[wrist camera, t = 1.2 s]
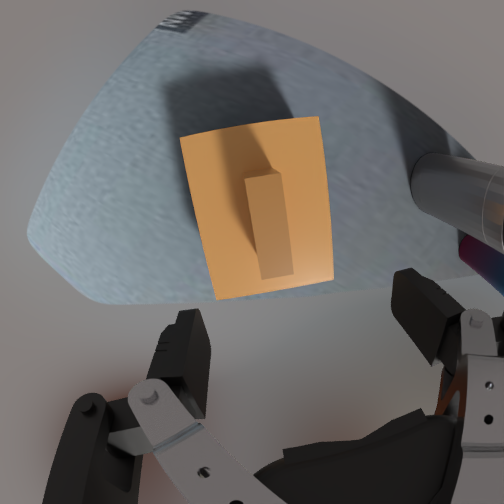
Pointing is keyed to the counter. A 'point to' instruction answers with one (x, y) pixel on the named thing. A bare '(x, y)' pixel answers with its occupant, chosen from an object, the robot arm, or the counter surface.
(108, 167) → the counter surface
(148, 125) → the counter surface
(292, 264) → the lid
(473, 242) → the cup
